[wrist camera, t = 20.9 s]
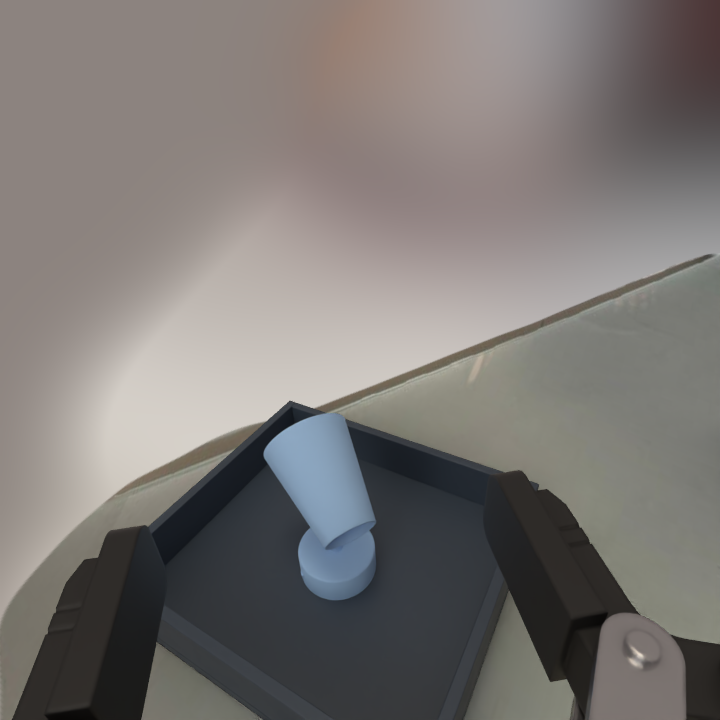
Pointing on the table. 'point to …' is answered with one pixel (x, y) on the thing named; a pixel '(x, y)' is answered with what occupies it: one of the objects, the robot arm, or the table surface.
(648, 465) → the table surface
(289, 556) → the tray
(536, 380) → the table surface
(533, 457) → the table surface
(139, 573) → the robot arm
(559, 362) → the table surface
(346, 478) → the spotlight
